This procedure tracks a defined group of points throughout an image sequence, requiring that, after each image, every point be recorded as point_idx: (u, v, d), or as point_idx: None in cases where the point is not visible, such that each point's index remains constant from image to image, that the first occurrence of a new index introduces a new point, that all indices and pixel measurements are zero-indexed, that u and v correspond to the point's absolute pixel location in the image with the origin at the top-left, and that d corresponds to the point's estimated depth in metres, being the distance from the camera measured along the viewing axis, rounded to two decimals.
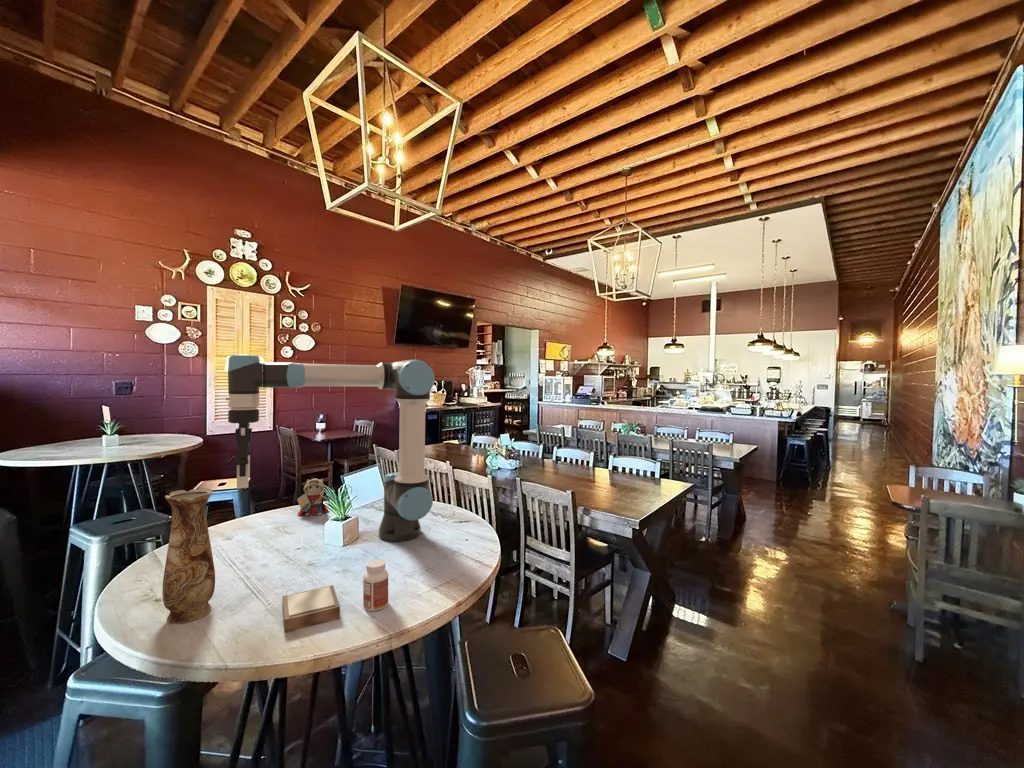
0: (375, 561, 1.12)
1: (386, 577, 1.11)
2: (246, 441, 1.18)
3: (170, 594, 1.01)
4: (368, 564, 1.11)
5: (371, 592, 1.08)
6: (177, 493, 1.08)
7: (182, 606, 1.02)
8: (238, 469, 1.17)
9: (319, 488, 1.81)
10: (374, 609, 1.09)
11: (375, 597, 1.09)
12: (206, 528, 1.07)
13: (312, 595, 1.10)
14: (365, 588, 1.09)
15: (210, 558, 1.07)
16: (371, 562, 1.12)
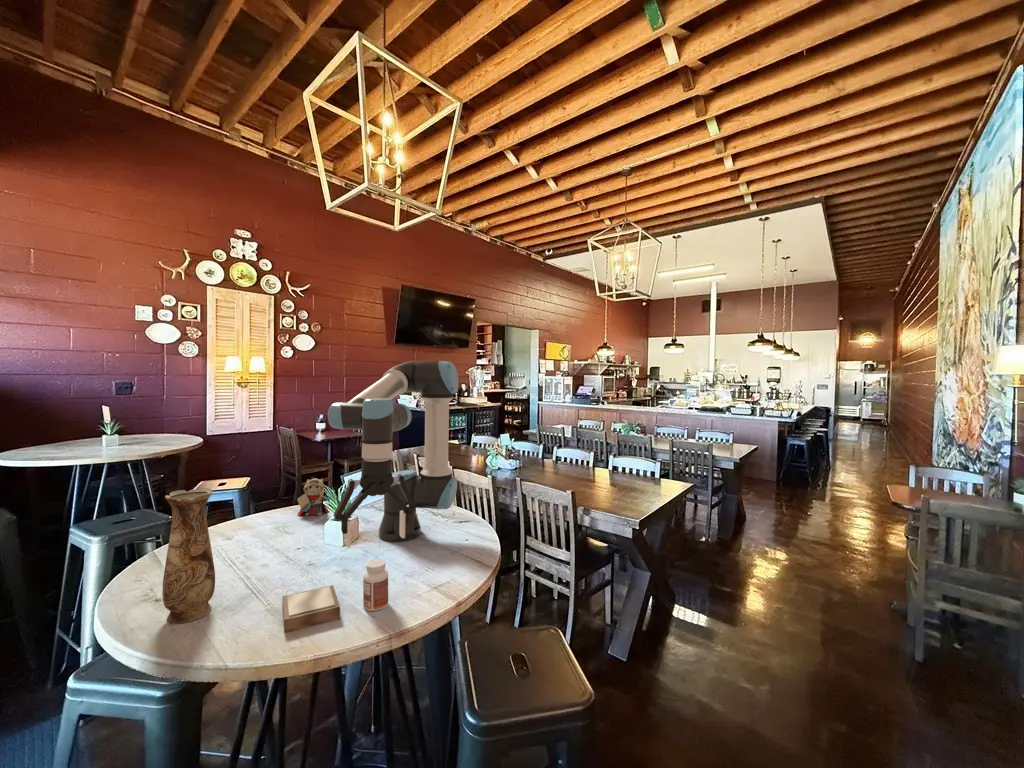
0: (375, 561, 1.12)
1: (386, 577, 1.11)
2: (345, 495, 1.06)
3: (170, 594, 1.01)
4: (368, 564, 1.11)
5: (371, 592, 1.08)
6: (177, 493, 1.08)
7: (182, 606, 1.02)
8: None
9: (319, 488, 1.81)
10: (374, 609, 1.09)
11: (375, 597, 1.09)
12: (206, 528, 1.07)
13: (312, 595, 1.10)
14: (365, 588, 1.09)
15: (210, 558, 1.07)
16: (371, 562, 1.12)
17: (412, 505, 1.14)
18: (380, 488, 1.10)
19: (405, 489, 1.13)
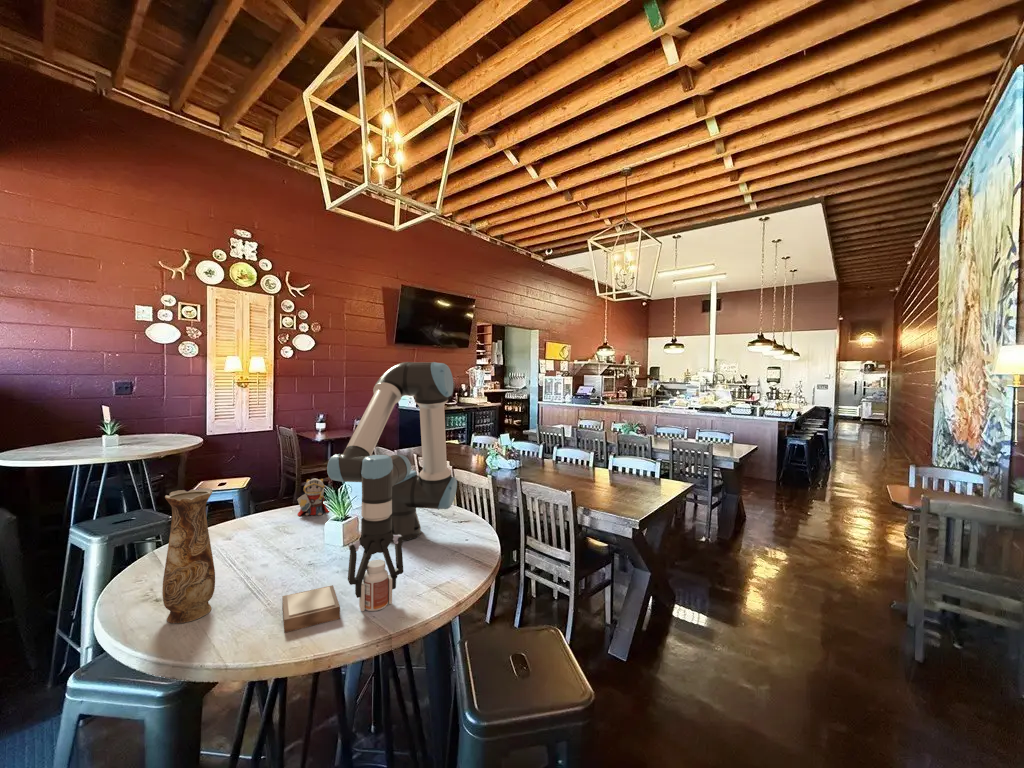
0: (375, 561, 1.12)
1: (386, 577, 1.11)
2: (350, 560, 1.07)
3: (170, 594, 1.01)
4: (368, 564, 1.11)
5: (371, 592, 1.08)
6: (177, 493, 1.08)
7: (182, 606, 1.02)
8: None
9: (319, 488, 1.81)
10: (374, 609, 1.09)
11: (375, 597, 1.09)
12: (206, 528, 1.07)
13: (312, 595, 1.10)
14: (365, 588, 1.09)
15: (210, 558, 1.07)
16: (371, 562, 1.12)
17: (400, 569, 1.13)
18: (380, 545, 1.11)
19: (400, 551, 1.13)
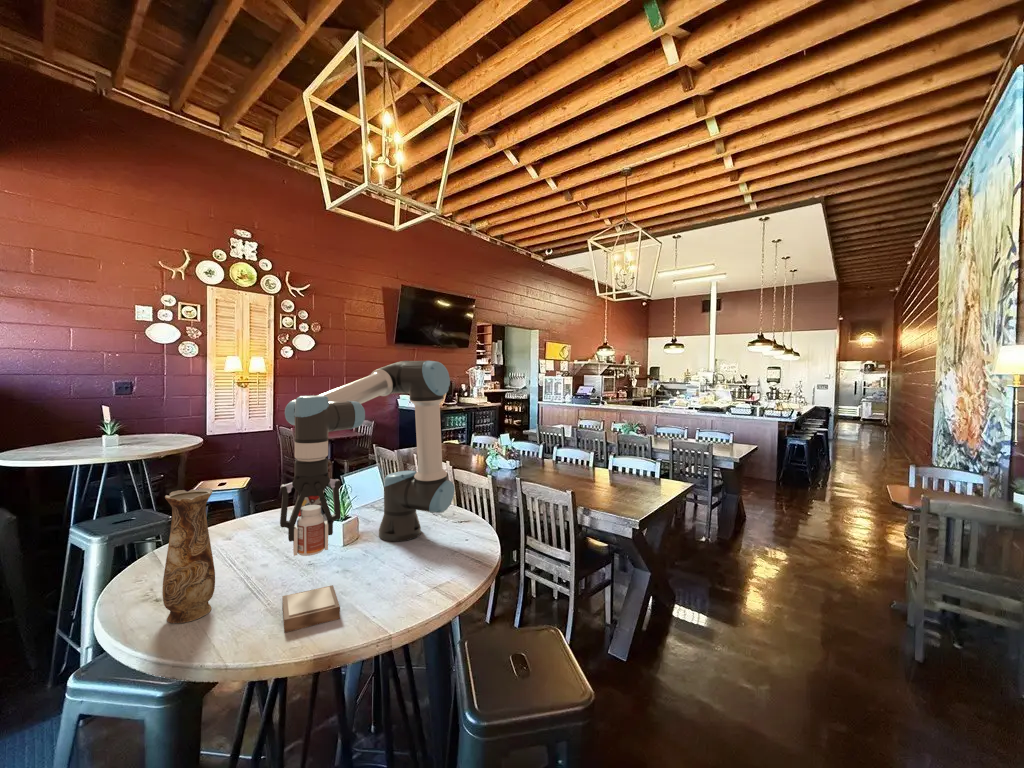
0: (311, 506, 1.08)
1: (321, 521, 1.06)
2: (282, 502, 1.03)
3: (170, 594, 1.01)
4: (302, 508, 1.06)
5: (304, 536, 1.04)
6: (177, 493, 1.08)
7: (182, 606, 1.02)
8: None
9: None
10: (307, 554, 1.04)
11: (309, 541, 1.04)
12: (206, 528, 1.07)
13: (312, 595, 1.10)
14: (298, 532, 1.05)
15: (210, 558, 1.07)
16: (306, 506, 1.07)
17: (337, 515, 1.09)
18: (314, 488, 1.06)
19: (337, 495, 1.09)
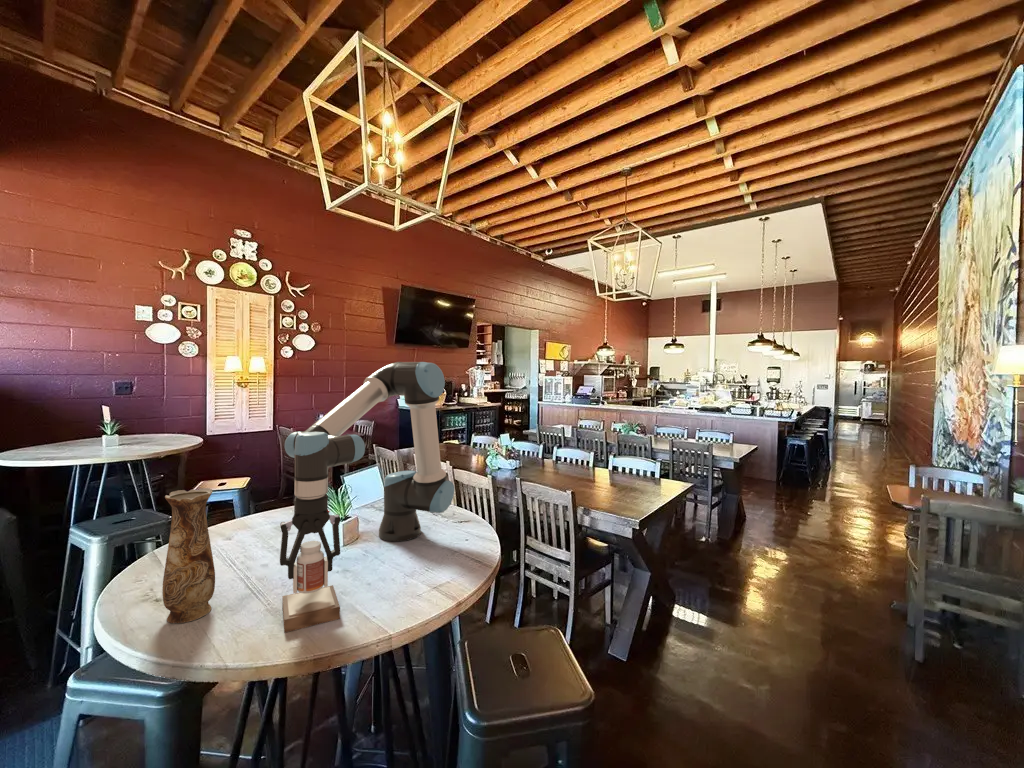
0: (310, 542, 1.08)
1: (321, 558, 1.07)
2: (282, 540, 1.03)
3: (170, 594, 1.01)
4: (302, 545, 1.07)
5: (304, 573, 1.04)
6: (177, 493, 1.08)
7: (182, 606, 1.02)
8: None
9: None
10: (307, 591, 1.04)
11: (308, 579, 1.04)
12: (206, 528, 1.07)
13: (312, 595, 1.10)
14: (298, 569, 1.05)
15: (210, 558, 1.07)
16: (306, 543, 1.08)
17: (336, 551, 1.09)
18: (314, 525, 1.06)
19: (336, 532, 1.09)
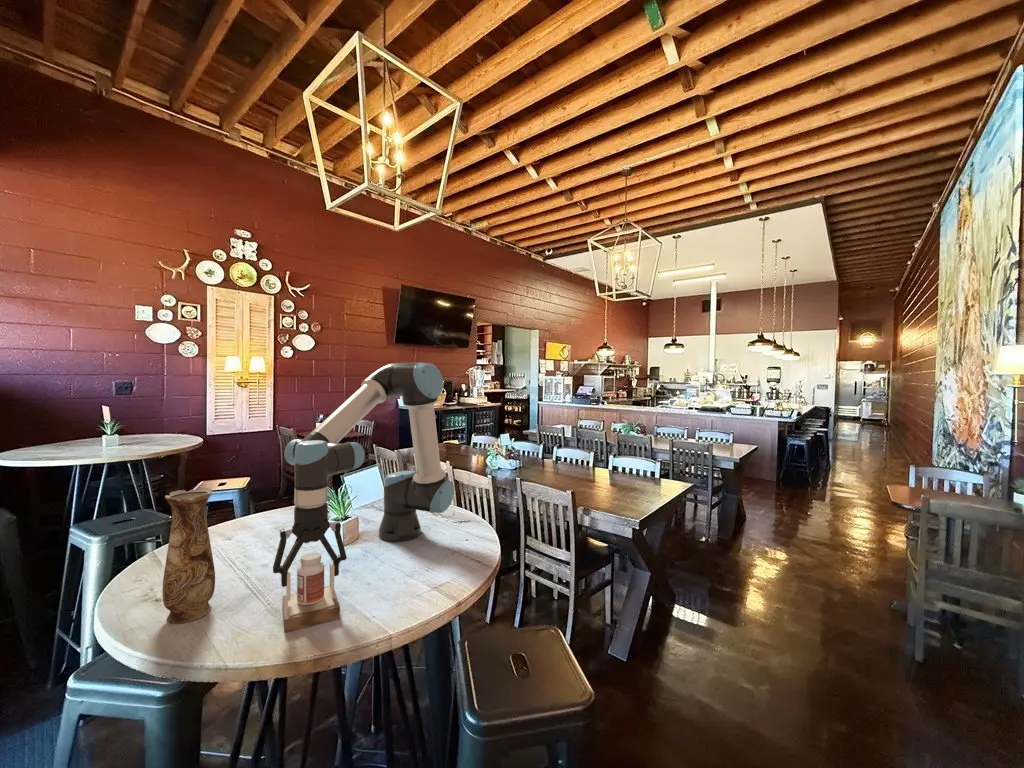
0: (311, 554, 1.08)
1: (321, 570, 1.07)
2: (279, 547, 1.03)
3: (170, 594, 1.01)
4: (302, 556, 1.07)
5: (304, 585, 1.04)
6: (177, 493, 1.08)
7: (182, 606, 1.02)
8: None
9: None
10: (307, 603, 1.05)
11: (309, 591, 1.05)
12: (206, 528, 1.07)
13: None
14: (298, 581, 1.05)
15: (210, 558, 1.07)
16: (306, 554, 1.08)
17: (342, 556, 1.10)
18: (314, 534, 1.06)
19: (339, 538, 1.09)
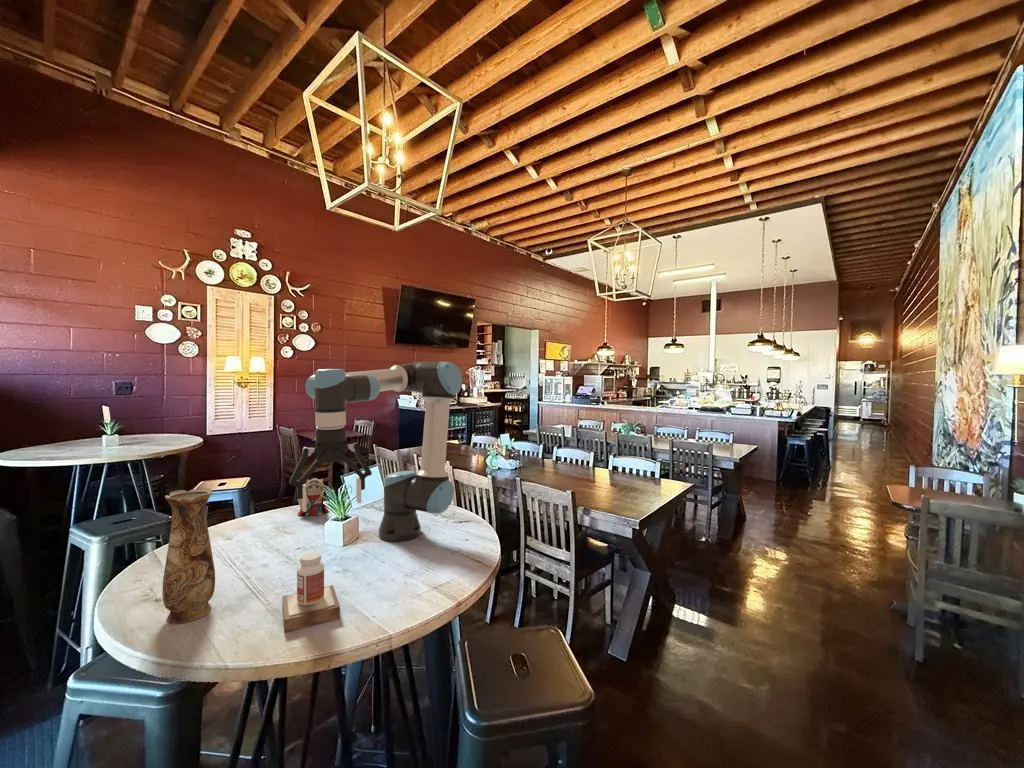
0: (310, 554, 1.08)
1: (321, 570, 1.07)
2: (299, 462, 1.10)
3: (170, 594, 1.01)
4: (302, 557, 1.07)
5: (304, 585, 1.04)
6: (177, 493, 1.08)
7: (182, 606, 1.02)
8: None
9: (319, 488, 1.81)
10: (307, 603, 1.05)
11: (308, 591, 1.05)
12: (206, 528, 1.07)
13: None
14: (298, 581, 1.05)
15: (210, 558, 1.07)
16: (306, 555, 1.08)
17: (368, 472, 1.18)
18: (335, 455, 1.14)
19: (360, 456, 1.17)
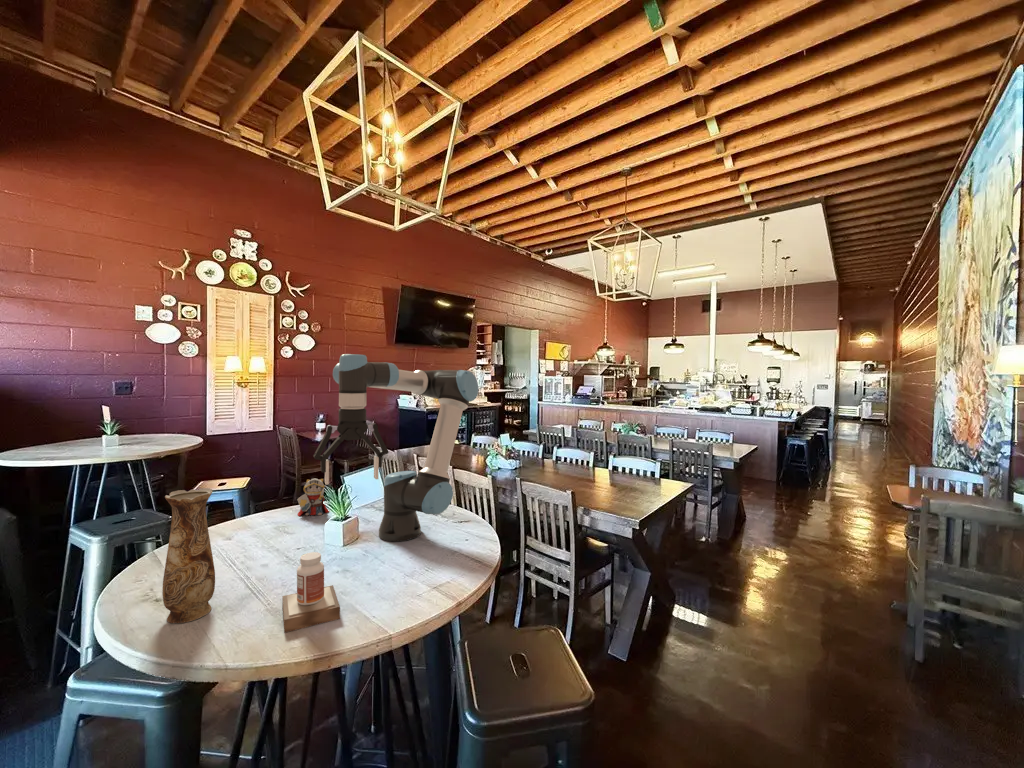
0: (310, 554, 1.09)
1: (321, 570, 1.07)
2: (323, 438, 1.20)
3: (170, 594, 1.01)
4: (302, 557, 1.07)
5: (304, 585, 1.04)
6: (177, 493, 1.08)
7: (182, 606, 1.02)
8: None
9: (319, 488, 1.81)
10: (307, 603, 1.05)
11: (308, 591, 1.05)
12: (206, 528, 1.07)
13: None
14: (298, 581, 1.05)
15: (210, 558, 1.07)
16: (306, 555, 1.08)
17: (385, 450, 1.28)
18: (355, 433, 1.24)
19: (378, 436, 1.27)
